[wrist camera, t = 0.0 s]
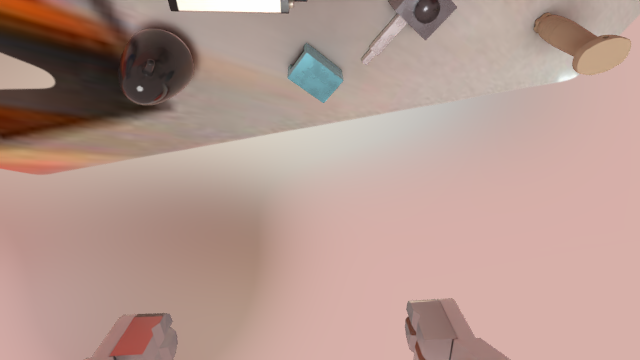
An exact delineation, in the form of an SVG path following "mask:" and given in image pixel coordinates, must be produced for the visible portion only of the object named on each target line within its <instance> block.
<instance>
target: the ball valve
mask: <svg viewBox="0 0 640 360" xmlns="http://www.w3.org/2000/svg"><path fill="white" fill-rule="evenodd" d="M307 1H308V0H168V2H169V6H170V10H171V11H186V12H239V13H289V8H293V7H294V2H307Z"/></svg>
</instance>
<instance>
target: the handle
mask: <svg viewBox="0 0 640 360" xmlns="http://www.w3.org/2000/svg"><path fill="white" fill-rule="evenodd" d="M534 30H535V32H536V33H539V35H540V36H541V37H542V38H543V39H544V40H545V41H546V42H548V43H549V44H551V45H552V46H554V47H556V48H558V49H560V50H562V51H564V52H566V53H568V54H570V55H572V56H574V59H573V63H572V66H573V69H574V70H575V71H576V72H578V73H580V74H585V75H594V74H598V73H602V72H605V71H608V70H610V69H612V68H613V67H615V66H617V65H619V64H620V63H622V62H623V61H624V59H625V58H626V56H627V55H628V53H629V51H630V48H631V41H630V40H629V39H627V38H625V37H621V36H617V35H602V36H599V37H597V36H596V35H594V34H592V33H591V32H589V31H588V30H586V29H585V28H583V27H581V26H580V25H578V24H577V23H575V22H574V21H571V20H570V19H567V18H564V17H562V16H558V15H552V14H550V13H545V14H543V16H542V17H540V18H539V19H537V20H536V21H535V27H534Z"/></svg>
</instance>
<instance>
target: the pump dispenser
mask: <svg viewBox="0 0 640 360" xmlns="http://www.w3.org/2000/svg"><path fill="white" fill-rule="evenodd" d="M193 74H194V62H193V58H192V55H191V53H190V51H189V49H188V47H187V46H186V44H185V43H184V42H183V41H182V40H181V39H180V38H179V37H177V36H176V35H174V34H172V33H170V32H168V31H165V30H160V29H153V28H151V29H144V30H141V31H139V32H137V33H136V34H135V35H134V36H133V37H132V38H131V39H130V40H129V42H128V43H127V45H126V47H125V49H124V51H123V53H122V56H121V59H120V63H119V68H118V81H119V85H120V88H121V90H122V92H123V94H124V95H125V96H126V97H127V98H128V99H129V100H131V101H132V102H134V103H137V104H141V105H154V104H158V103H161V102H164V101H166V100H168V99H170V98H172V97H174V96H175V95H177V94H178V93H179V92H181V91H182V90H183V89H184V88H185V87H186V86H187V85H188V84H189V82H190V81H191V79H192V77H193Z"/></svg>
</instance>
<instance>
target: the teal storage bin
mask: <svg viewBox="0 0 640 360" xmlns="http://www.w3.org/2000/svg"><path fill="white" fill-rule="evenodd" d="M288 79H290V80H291V81H292V82H294V83H295V84H297V85H298V86H300V87H301V88H303V89H304V90H305V91H307V92H308V93H310V94H311V95H313V96H314V97H315V98H317V99H318V100H320V101H321V102H323V103H324V102H325V101H326V100H327V99H328V98H329V97H330V96H331V94H332V93H333V92H334V91H335V90H336V89H337V87H338V86H339V85H340V84H341V83H342V82H343V76H342V71H341V69H340V68H338V67H337V66H336V65H334V64H333V63H332V62H331V61H329V60H328V59H327V58H325V57H324V56H323V55H322V54H320V53H319V52H318V51H316V50H315V49H314V48H313V47H311V46H310V45H309V44H307V43H306V44H305V45H304V52H303V53H302V55H301V56H300V57H299V59H298V60H297V62H296V63H295V64H294V66H292V65H290V66H289V67H288Z"/></svg>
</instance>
